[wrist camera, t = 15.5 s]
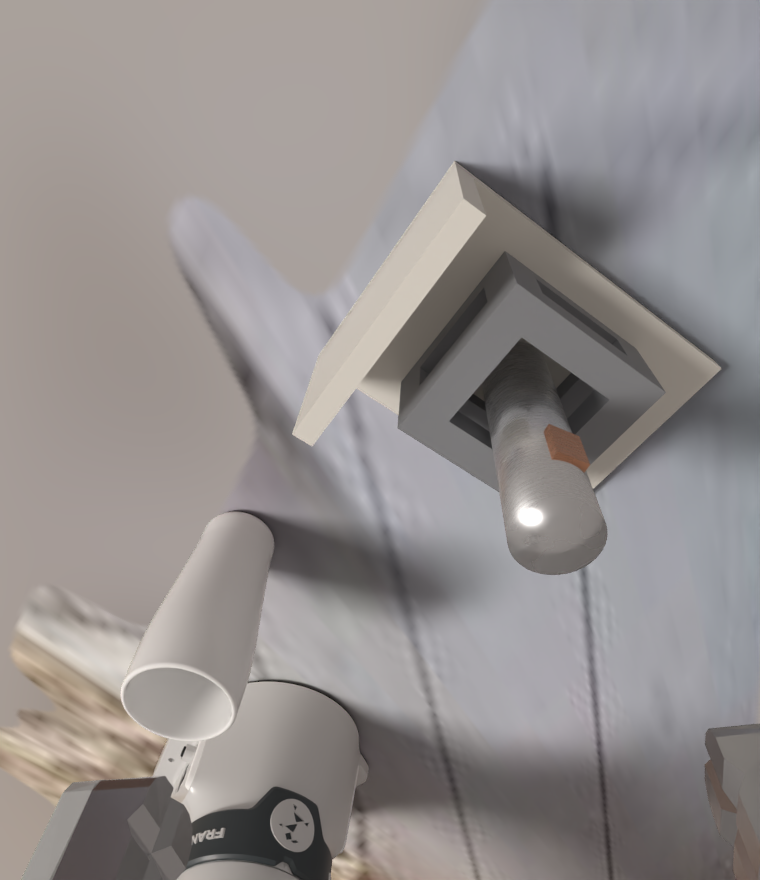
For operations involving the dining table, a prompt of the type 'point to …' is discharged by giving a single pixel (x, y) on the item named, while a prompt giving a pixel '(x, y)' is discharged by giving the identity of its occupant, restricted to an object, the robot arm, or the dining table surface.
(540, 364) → the tube
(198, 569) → the drinking glass
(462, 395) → the stand
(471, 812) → the dining table surface
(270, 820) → the robot arm
